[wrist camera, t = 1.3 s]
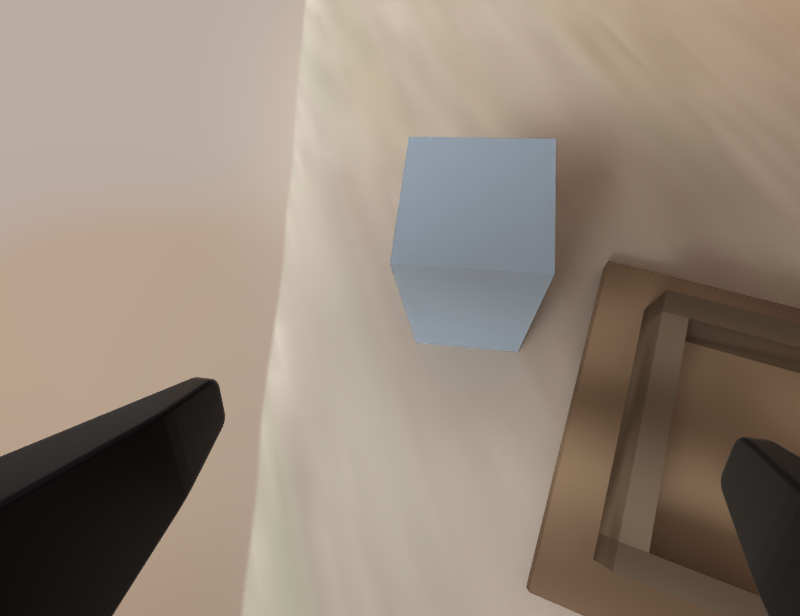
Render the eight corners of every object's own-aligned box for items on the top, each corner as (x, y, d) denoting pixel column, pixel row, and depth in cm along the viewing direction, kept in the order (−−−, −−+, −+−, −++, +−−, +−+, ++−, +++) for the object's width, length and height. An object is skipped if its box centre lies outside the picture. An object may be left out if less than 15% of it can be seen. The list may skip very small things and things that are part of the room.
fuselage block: (517, 351, 21) (554, 273, 13) (416, 342, 22) (390, 263, 14) (521, 259, 23) (556, 138, 15) (426, 254, 24) (409, 136, 16)
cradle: (981, 783, 15) (1115, 862, 12) (526, 587, 18) (539, 609, 15) (967, 360, 19) (1062, 339, 16) (603, 268, 22) (625, 237, 19)
